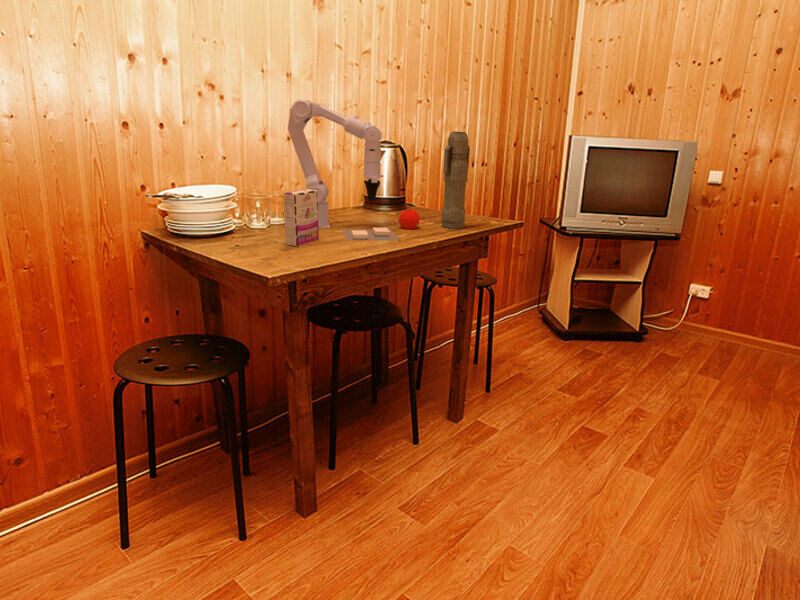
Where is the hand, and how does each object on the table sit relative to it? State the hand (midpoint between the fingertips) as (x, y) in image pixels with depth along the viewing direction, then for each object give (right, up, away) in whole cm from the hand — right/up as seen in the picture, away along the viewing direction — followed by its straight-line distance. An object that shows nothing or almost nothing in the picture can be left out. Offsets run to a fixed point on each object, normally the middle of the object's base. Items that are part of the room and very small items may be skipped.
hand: (371, 200), depth 195 cm
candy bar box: (-21, -18, -22) cm, 36 cm away
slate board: (0, -14, -9) cm, 17 cm away
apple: (+14, -10, +5) cm, 17 cm away
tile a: (-4, -13, -11) cm, 17 cm away
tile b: (+3, -11, -5) cm, 12 cm away
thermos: (+30, -8, +13) cm, 34 cm away
